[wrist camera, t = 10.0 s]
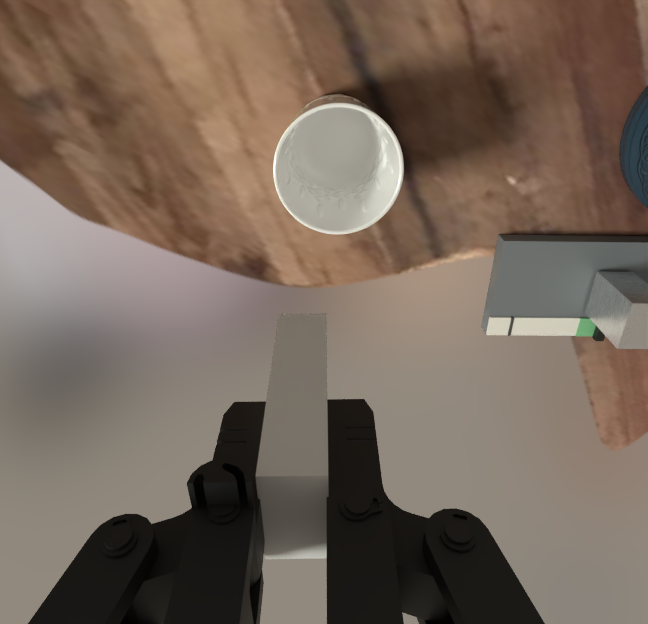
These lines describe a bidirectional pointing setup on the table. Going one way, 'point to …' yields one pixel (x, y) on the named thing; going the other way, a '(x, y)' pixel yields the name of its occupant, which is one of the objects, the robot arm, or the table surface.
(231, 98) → the table surface
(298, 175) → the white cup
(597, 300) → the block
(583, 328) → the gauge base
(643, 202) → the canister
